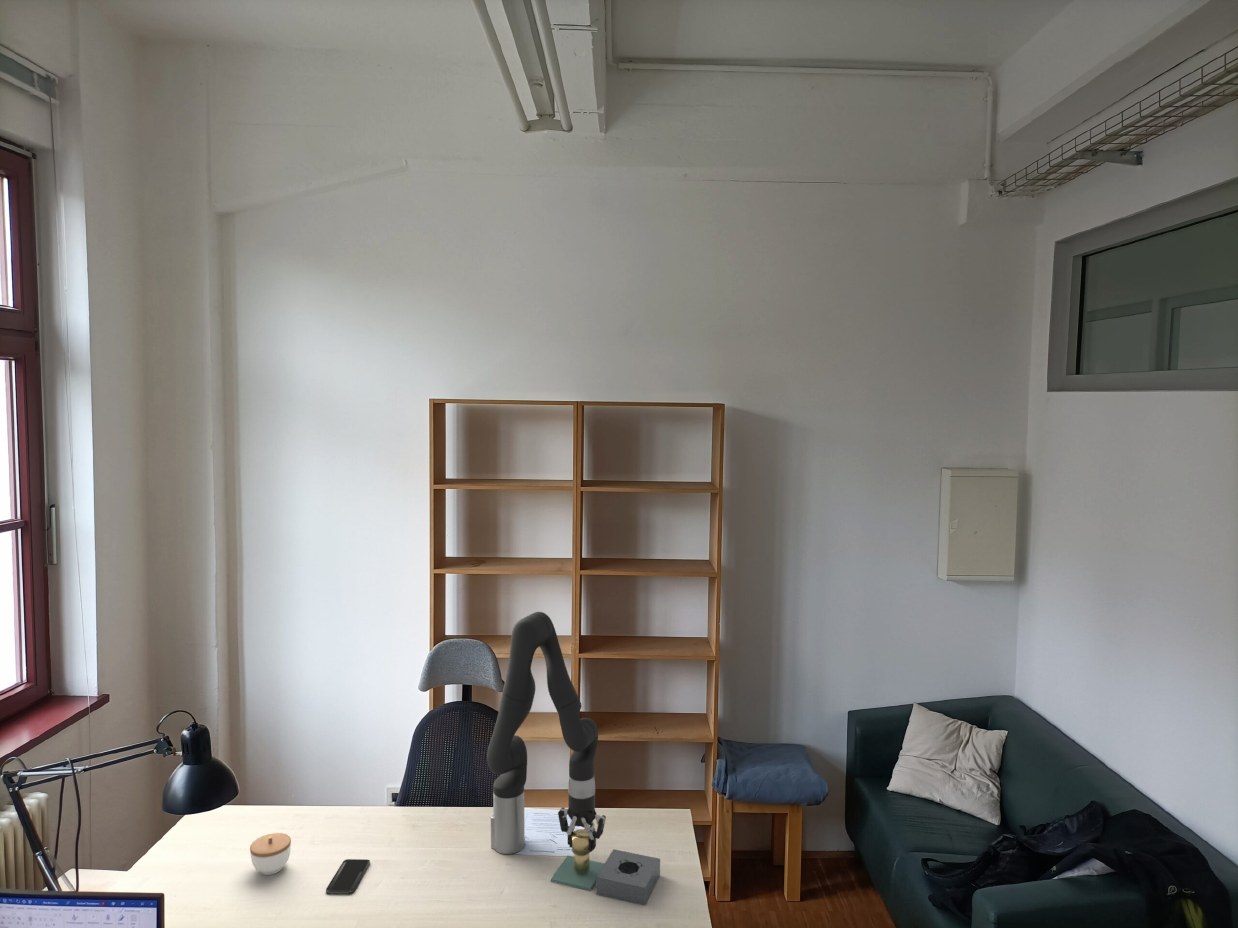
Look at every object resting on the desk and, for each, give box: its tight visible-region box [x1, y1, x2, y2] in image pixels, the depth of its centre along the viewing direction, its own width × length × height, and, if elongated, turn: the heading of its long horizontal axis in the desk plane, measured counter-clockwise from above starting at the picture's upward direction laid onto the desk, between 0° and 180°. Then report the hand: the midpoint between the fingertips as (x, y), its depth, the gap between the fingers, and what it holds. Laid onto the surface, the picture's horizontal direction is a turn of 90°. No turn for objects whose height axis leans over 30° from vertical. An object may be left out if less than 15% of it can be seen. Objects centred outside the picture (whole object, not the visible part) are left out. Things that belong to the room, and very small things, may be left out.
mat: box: [550, 855, 605, 892], centre depth 226 cm, size 12×12×1 cm
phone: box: [325, 858, 371, 895], centre depth 224 cm, size 8×1×15 cm
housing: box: [595, 849, 661, 906], centre depth 220 cm, size 14×14×5 cm
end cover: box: [571, 828, 591, 873], centre depth 225 cm, size 6×6×10 cm
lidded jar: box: [249, 832, 292, 876], centre depth 227 cm, size 11×11×9 cm
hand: (581, 847), depth 225 cm, fingers closed on end cover, 5 cm apart
